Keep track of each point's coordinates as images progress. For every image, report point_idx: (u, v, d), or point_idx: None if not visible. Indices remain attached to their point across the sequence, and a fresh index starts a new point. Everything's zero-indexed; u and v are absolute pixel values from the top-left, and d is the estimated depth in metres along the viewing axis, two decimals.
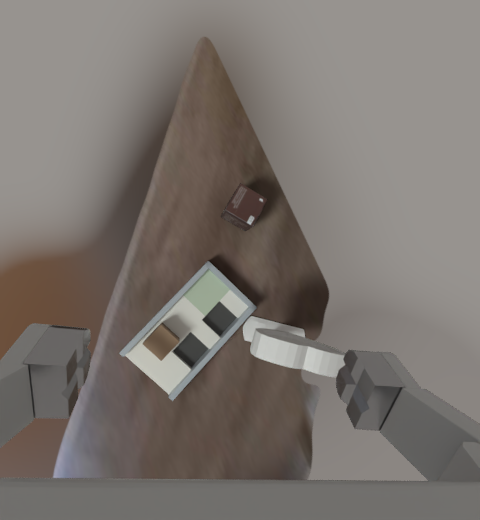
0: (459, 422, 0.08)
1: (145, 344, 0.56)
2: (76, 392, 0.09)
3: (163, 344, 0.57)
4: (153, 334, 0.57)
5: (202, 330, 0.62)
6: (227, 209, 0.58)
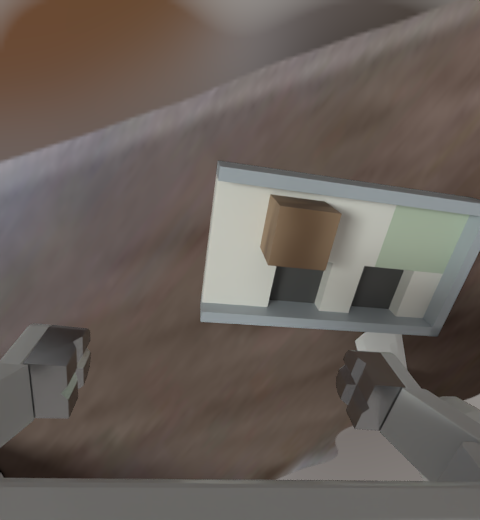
0: (459, 422, 0.08)
1: (283, 212, 0.22)
2: (76, 392, 0.09)
3: (305, 246, 0.23)
4: (313, 213, 0.22)
5: (345, 279, 0.29)
6: None
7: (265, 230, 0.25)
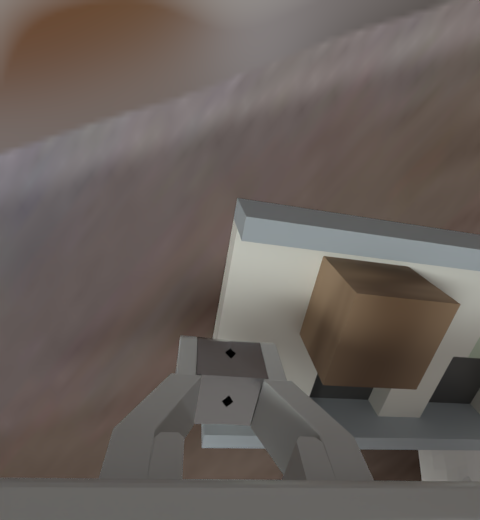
0: (308, 416, 0.07)
1: (360, 304, 0.12)
2: None
3: (389, 355, 0.13)
4: (412, 305, 0.12)
5: None
6: None
7: (313, 314, 0.15)
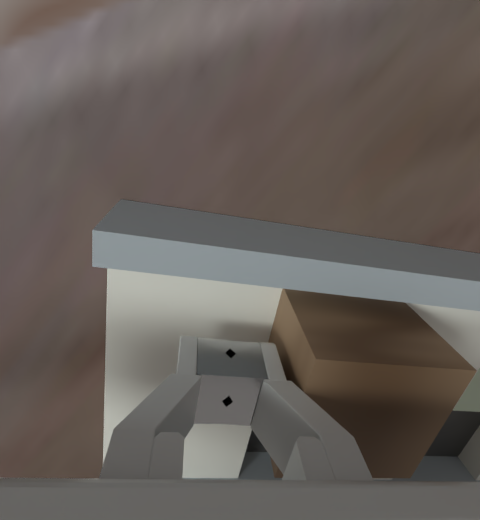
0: (308, 416, 0.07)
1: (322, 374, 0.08)
2: None
3: (370, 439, 0.09)
4: (403, 373, 0.08)
5: None
6: None
7: None
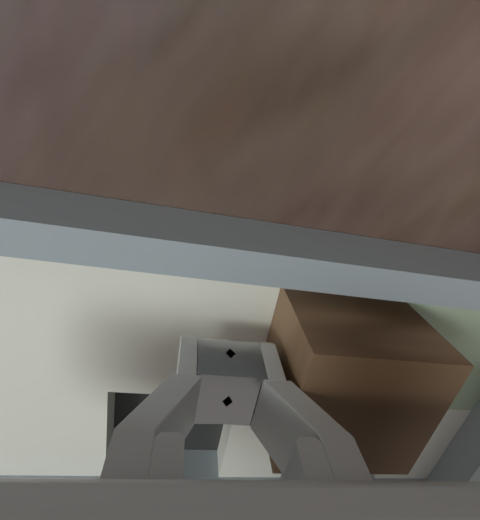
0: (307, 416, 0.07)
1: (320, 369, 0.08)
2: None
3: (368, 434, 0.09)
4: (401, 368, 0.08)
5: None
6: None
7: None
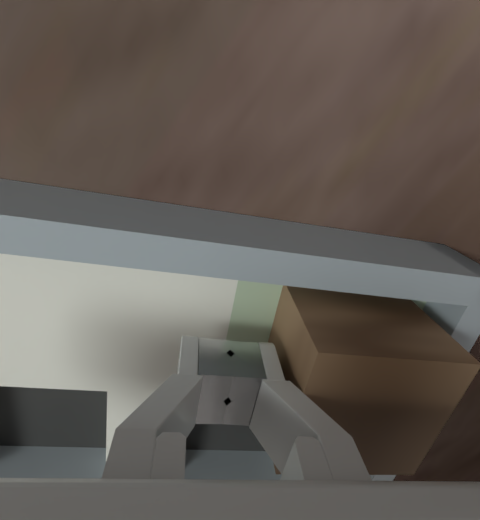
0: (306, 416, 0.07)
1: (324, 368, 0.08)
2: None
3: (373, 435, 0.09)
4: (407, 367, 0.08)
5: None
6: None
7: None
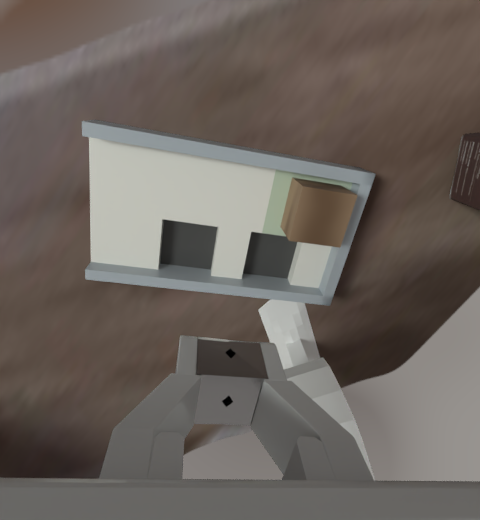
0: (308, 416, 0.07)
1: (305, 192, 0.25)
2: None
3: (323, 224, 0.26)
4: (332, 194, 0.25)
5: (233, 245, 0.30)
6: None
7: (286, 210, 0.28)
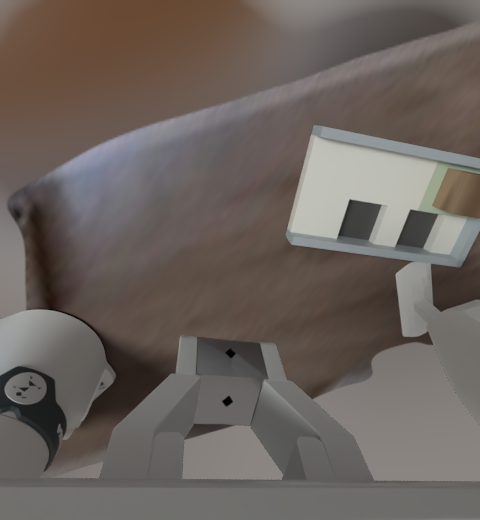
0: (308, 416, 0.07)
1: (471, 178, 0.34)
2: None
3: (478, 202, 0.36)
4: None
5: (395, 220, 0.39)
6: None
7: (442, 192, 0.38)
